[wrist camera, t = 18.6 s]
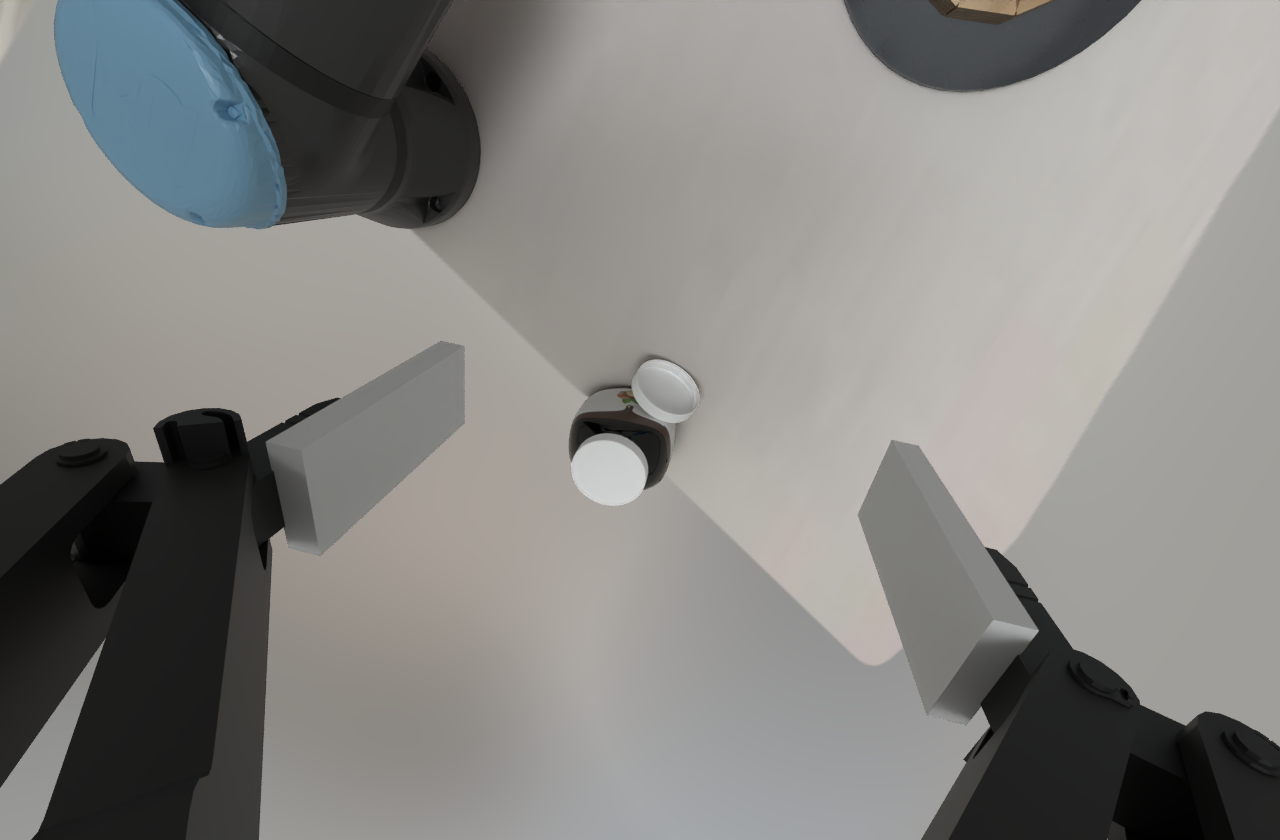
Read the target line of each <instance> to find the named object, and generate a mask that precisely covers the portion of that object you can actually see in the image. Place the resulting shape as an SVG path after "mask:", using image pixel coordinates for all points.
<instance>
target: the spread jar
mask: <svg viewBox="0 0 1280 840" xmlns="http://www.w3.org/2000/svg"><path fill="white" fill-rule="evenodd" d="M699 403H700V393H699V390H698V387H697V385H696V383H695V381H694V380H693V379H692V377H691V376H690V375H689V374H688V373H687V372H686V371H685V370H683V369H682V368H681V367H679V366H677V365H676V364H674V363H671V362H669V361H665V360H660V359H653V360H649V361H646V362H644V363H643V364H642V365H641V366H640V367H639V369H638V370H637V372H636V373H635V375H634V377H633V379H632V387H619V388H611V389H606V390H602V391H599V392H597V393H594V394H593V395H591V396H590V397H589V398H588V399H587V400H586V401H585V402H584V404H583V405H582V406H581V408H580V409H579V411H578V412H577V414H576V416H575V418H574V420H573V423H572V426H571V430H570V437H569V455H570V460H571V474H572V477H573V481H574V482H575V484H576V486H577V487H578V489H579V490H580V491H581V492H582V493H583V494H584V495H585V496H586V497H588V498H589V499H591V500H593V501H595V502H597V503H599V504H604V505H609V506H618V505H623V504H627V503H629V502H631V501H633V500H634V499H636V498H637V497H638V496H639V495H640V493H641V492H642V491H643V490H646V489H648V488H650V487H653V486H655V485H656V484H657V483H659V482H660V481H661V479H662V478H663V476H664V475H665V473H666V471H667V468H668V465H669V462H670V459H671V455H672V451H673V447H674V441H675V423H679V422H683V421H685V420H687V419H688V418H689V417H690V416H691V415H692V413H693V412H694V411H695V410H696V409H697V407H698V405H699Z"/></svg>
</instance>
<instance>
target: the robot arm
mask: <svg viewBox="0 0 1280 840" xmlns="http://www.w3.org/2000/svg"><path fill="white" fill-rule="evenodd" d="M452 1H453V0H58V3H57V6H56V12H55V18H54V39H55V47H56V52H57V57H58V61H59V65H60V69H61V73H62V76H63V79H64V81H65V84H66V87H67V89H68V92H69V94H70V97H71V100H72V102H73V104H74V106H75V107H76V108H77V110H78V111H79V113H80V115H81V116H82V118H83V120H84V123H85V125H86V127H87V129H88V131H89V133H90V134H91V136H92V137H93V139H94V141H95V142H96V144H97V145H98V146H99V148H100V149H101V150H102V152H103V153H104V154H105V156H106V157H107V158H108V160H110V162H111V163H112V164H113V165H114V166H115V168H116V169H117V170H118V171H119V172H120V173H121V174H122V175H123V176H124V178H125V179H126V180H128V181H129V182H130V183H131V184H132V185H133V186H134V187H135V188H136V189H137V190H138V191H140V192H141V193H142V194H143V195H144V196H146V197H147V198H148V199H150V200H151V201H152V202H153V203H155V204H156V205H158V206H160V207H161V208H163V209H164V210H166V211H168V212H169V213H171V214H173V215H175V216H177V217H179V218H182V219H184V220H186V221H189V222H192V223H195V224H198V225H203V226H208V227H215V228H226V227H227V228H229V227H247V228H255V229H265V228H269V227H271V226H274V225H281V224H289V223H296V222H303V221H310V220H317V219H325V218H332V217H340V216H347V215H353V214H357V215H360V216H362V217H365V218H368V219H370V220H373V221H375V222H378V223H381V224H384V225H387V226H391V227H396V228H406V229H409V228H420V227H425V226H431V225H435V224H438V223H440V222H443V221H445V220H447V219H448V218H450V217H451V216H453V215H454V214H455V213H456V212H457V211H458V210H459V209H460V208H461V207H462V206H463V205H464V204H465V202H466V201H467V199H468V198H469V196H470V194H471V192H472V190H473V187H474V185H475V182H476V179H477V175H478V170H479V162H480V141H479V133H478V128H477V123H476V120H475V116H474V113H473V110H472V107H471V105H470V102H469V100H468V98H467V96H466V94H465V92H464V90H463V88H462V87H461V85H460V84H459V82H458V81H457V79H456V78H455V76H454V75H453V74H452V73H451V71H450V70H449V69H448V68H447V67H446V66H445V65H444V64H443V63H442V62H441V61H440V60H439V59H438V58H437V57H436V56H435V55H433V54H432V53H431V52H429V51H428V50H426V47H427V45H428V43H429V42H430V40H431V38H432V36H433V35H434V33H435V31H436V29H437V28H438V26H439V24H440V22H441V21H442V19H443V17H444V15H445V14H446V12H447V10H448V8H449V7H450V5H451V3H452ZM463 424H464V346H461V345H457V344H452V343H448V342H443V341H440V342H438V343H437V344H435V345H433V346H432V347H430V348H428V349H426V350H425V351H423V352H421V353H419V354H418V355H416V356H414V357H412V358H411V359H409V360H407V361H405V362H404V363H402V364H400V365H399V366H397V367H395V368H393V369H391V370H390V371H388V372H386V373H385V374H383V375H381V376H379V377H378V378H376V379H375V380H373V381H371V382H369V383H367V384H365V385H364V386H362V387H360V388H358V389H357V390H355V391H353V392H352V393H350V394H348V395H346V396H344V397H343V398H335V399H331V400H328V401H324V402H321V403H317V404H315V405H313V406H311V407H309V408H308V409H306V410H304V411H302V412H301V413H299V415H295V416H293V417H292V418H289V419H288V420H286V422H285V423H280V424H279V425H277V426H275V427H273V428H271V429H270V430H268V431H266V432H264V433H262V434H261V435H259V436H257V437H255V438H253V439H252V440H250V441H248V442H247V441H246V437H245V432H244V428H243V424H242V420H241V417H240V415H239V414H237V413H235V412H234V411H231V410H226V409H220V408H207V409H206V408H203V409H196V410H189V411H185V412H181V413H178V414H174V415H171V416H169V417H167V418H165V419H164V420H161V421H160V422H158V424H157V425H156V426H155V427H154V428H153V429H154V432H155V435H156V438H157V441H158V444H159V447H160V450H161V453H162V457H163V460H164V463H162V462H134V459H133V456H132V454H131V451H130V448H129V447H128V445H127V443H125V442H122V441H120V440H117V439H104V438H101V439H82V440H78V441H72V442H68V443H65V444H63V445H61V446H58V447H56V448H52V449H49V450H48V451H46V452H44V453H42V454H41V455H39V456H37V457H36V458H34V459H33V460H32V461H30V462H29V463H28V464H26V465H25V466H24V467H23V468H21V469H20V470H19V471H17V472H16V473H15V474H14V475H12V476H11V477H10V478H9V479H7V480H6V481H5V482H3V483H2V484H1V485H0V787H1V786H2V785H3V783H4V782H5V780H6V779H7V778H8V776H9V774H10V773H11V772H12V770H13V769H14V768H15V766H16V765H17V763H18V762H19V760H20V759H21V758H22V756H23V755H24V753H25V752H26V750H27V749H28V748H29V746H30V745H31V743H32V742H33V741H34V739H35V738H36V736H37V735H38V733H39V732H40V731H41V729H42V728H43V726H44V725H45V723H46V722H47V721H48V719H49V718H50V716H51V715H52V713H53V712H54V711H55V709H56V708H57V706H58V705H59V703H60V702H61V700H62V699H63V698H64V696H65V695H66V693H67V692H68V691H69V689H70V688H71V686H72V685H73V683H74V682H75V681H76V679H77V678H78V676H79V675H80V674H81V672H82V671H83V669H84V668H85V667H86V665H87V663H88V662H89V660H90V659H91V658H92V657H93V655H94V654H95V652H96V651H97V649H98V648H99V646H100V645H101V644H102V642H103V641H104V639H105V638H106V640H105V642H104V645H103V648H102V651H101V654H100V657H99V660H98V663H97V666H96V669H95V671H94V674H93V677H92V680H91V683H90V686H89V689H88V692H87V695H86V698H85V701H84V704H83V707H82V709H81V713H80V715H79V718H78V721H77V724H76V727H75V730H74V733H73V736H72V739H71V741H70V744H69V747H68V750H67V754H66V756H65V759H64V762H63V765H62V768H61V771H60V774H59V776H58V779H57V782H56V785H55V788H54V791H53V794H52V797H51V800H50V803H49V806H48V809H47V811H46V814H45V818H44V820H43V822H42V824H41V826H40V829H39V831H38V832H37V834H36V835H35V836H34V837H33V838H32V840H259V823H260V822H259V821H260V802H261V779H262V759H263V738H264V716H265V694H266V672H267V651H268V631H269V610H270V589H271V588H270V587H271V567H272V547H271V543H270V539H269V538H271V537H272V536H273V535H274V534H276V533H277V532H278V531H279V530H281V529H282V528H283V527H284V530H285V534H286V539H287V544H288V548H291V549H294V550H299V551H303V552H306V553H310V554H314V555H318V556H321V555H322V554H323V553H324V552H325V551H326V550H327V549H328V548H330V547H331V546H332V545H333V544H334V543H335V542H336V541H337V540H338V539H339V538H341V537H342V536H343V535H344V534H345V533H346V532H347V531H348V530H349V529H350V528H351V527H352V526H354V525H355V523H357V522H358V521H359V520H360V519H361V518H362V517H363V516H364V515H365V514H367V512H369V511H370V510H371V509H372V508H373V507H374V506H375V505H376V504H377V503H378V502H380V501H381V500H382V499H383V498H384V497H385V496H386V495H387V494H388V493H389V492H390V491H391V490H392V489H393V488H395V487H396V486H397V485H398V484H399V483H400V482H401V481H402V480H403V479H404V478H406V477H407V476H408V475H409V474H410V473H411V472H412V471H413V470H414V469H415V468H416V467H417V466H418V465H420V464H421V463H422V462H423V461H424V460H425V459H426V458H427V457H428V456H429V455H430V454H431V453H433V452H434V451H435V450H436V449H437V448H438V447H439V446H440V445H441V444H442V443H444V442H445V441H446V440H447V439H448V438H449V437H450V436H451V435H452V434H453V433H454V432H455V431H457V430H458V429H459V428H460V427H461V426H462V425H463ZM858 517H859V520H860V523H861V526H862V528H863V531H864V534H865V537H866V540H867V543H868V546H869V549H870V552H871V555H872V557H873V560H874V563H875V566H876V569H877V572H878V575H879V578H880V581H881V583H882V586H883V589H884V592H885V595H886V598H887V601H888V604H889V607H890V610H891V612H892V615H893V618H894V621H895V624H896V627H897V630H898V633H899V636H900V639H901V641H902V644H903V647H904V650H905V653H906V656H907V659H908V662H909V664H910V667H911V670H912V673H913V676H914V679H915V682H916V685H917V688H918V691H919V694H920V697H921V699H922V702H923V705H924V708H925V711H926V714H927V715H928V716H932V717H936V718H940V719H943V720H947V721H951V722H955V723H959V724H963V725H967V724H968V723H969V721H970V720H971V719H972V717H973V716H974V715H975V714H976V712H977V711H978V710H979V708H980V707H981V706H982V709H983V711H984V713H985V715H986V717H987V720H988V722H989V724H990V727H989V728H988V730H987V731H986V732H985V733H984V734H983V736H982V737H981V738H980V740H979V741H978V742H977V743H976V744H975V746H974V747H973V748H972V750H971V751H970V752H969V753H968V754H967V756H966V757H965V758H964V760H965V761H966V762H967V763H966V764H965V766H964V768H963V770H962V771H961V773H960V774H959V776H958V778H957V780H956V781H955V783H954V785H953V786H952V788H951V790H950V791H949V793H948V795H947V797H946V798H945V800H944V802H943V804H942V805H941V807H940V809H939V810H938V812H937V814H936V815H935V817H934V819H933V820H932V822H931V824H930V825H929V827H928V829H927V831H926V832H925V834H924V836H923V837H922V839H921V840H1107V838H1108V840H1280V747H1279V746H1278V745H1276V744H1275V743H1274V742H1273V741H1270V740H1268V739H1269V738H1267V737H1266V736H1264V735H1263V734H1261V733H1260V732H1258V731H1256V730H1253V729H1252V728H1250V727H1248V726H1246V725H1245V724H1243V723H1241V722H1239V721H1237V720H1235V719H1232V718H1230V717H1227V716H1225V715H1222V714H1219V713H1212V712H1204V713H1202V714H1199V715H1198V716H1196V717H1195V718H1194V719H1193V720H1192V721H1191V722H1190V723H1189V724H1188V725H1186V726H1185V725H1183V724H1180V723H1178V722H1176V721H1173V720H1172V719H1169V718H1167V717H1165V716H1163V715H1161V714H1159V713H1156V712H1155V711H1152V710H1150V709H1148V708H1146V707H1144V706H1142V705H1140V701H1139V699H1138V698H1137V696H1136V694H1135V693H1134V692H1133V690H1132V688H1131V687H1130V686H1129V685H1128V684H1127V683H1126V682H1125V681H1124V680H1123V679H1122V678H1121V677H1120V676H1119V675H1118V674H1117V673H1115V672H1114V671H1113V670H1111V669H1110V668H1109V667H1107V666H1106V665H1104V664H1103V663H1102V662H1100V661H1098V660H1096V659H1095V658H1093V657H1091V656H1088V655H1087V654H1085V653H1083V652H1080V651H1077V650H1073V648H1072V647H1071V645H1070V644H1069V643H1068V641H1067V640H1066V638H1065V637H1064V635H1063V634H1062V633H1061V631H1060V630H1059V628H1058V627H1057V625H1056V624H1055V623H1054V621H1053V620H1052V618H1051V617H1050V615H1049V614H1048V613H1047V611H1046V610H1045V608H1044V607H1043V605H1042V604H1041V603H1038V598H1037V597H1036V595H1035V594H1034V592H1033V591H1032V589H1031V588H1028V584H1027V582H1026V581H1025V579H1024V578H1023V577H1022V576H1021V574H1020V572H1019V571H1018V569H1017V568H1016V567H1015V566H1014V565H1013V564H1012V563H1011V562H1009V561H1008V560H1007V559H1006V558H1005V557H1004V556H1003V555H1002V554H1000V553H999V552H998V551H997V550H995V549H990V548H986V547H984V545H983V544H982V542H981V541H980V539H979V538H978V536H977V535H976V533H975V532H974V530H973V529H972V527H971V525H970V524H969V522H968V521H967V519H966V518H965V516H964V515H963V513H962V512H961V510H960V509H959V507H958V506H957V504H956V502H955V501H954V499H953V498H952V496H951V495H950V493H949V492H948V490H947V489H946V487H945V486H944V484H943V483H942V481H941V479H940V478H939V476H938V475H937V473H936V472H935V470H934V469H933V467H932V466H931V464H930V463H929V461H928V460H927V458H926V456H925V455H924V453H923V452H922V450H921V449H920V447H919V446H917V445H912V444H908V443H903V442H899V441H894V440H891V443H890V445H889V447H888V449H887V451H886V454H885V456H884V458H883V460H882V462H881V465H880V467H879V469H878V471H877V474H876V476H875V478H874V480H873V482H872V485H871V487H870V489H869V491H868V493H867V496H866V498H865V500H864V502H863V504H862V507H861V509H860V511H859V513H858Z"/></svg>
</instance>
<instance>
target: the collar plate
mask: <svg viewBox="0 0 1280 840" xmlns="http://www.w3.org/2000/svg"><path fill="white" fill-rule="evenodd" d="M1140 1H1141V0H844V2H845V5H846V7H847V10H848V13H849V15H850V18H851V20H852V22H853V24H854V26H855V28H856V30H857V31H858V33H859V35H860V37H861V38H862V40H863V41H864V42H865V44H866V45H867V46H868V48H869V49H870V50H871V51H872V53H873V54H874V55H875V56H876V57H877V58H878V59H879V60H880V61H881V62H883V63H884V64H885V65H886V66H887V67H888V68H889V69H891V70H893V71H894V72H896V73H897V74H899V75H900V76H902V77H903V78H905V79H908V80H910V81H912V82H915V83H917V84H919V85H922V86H925V87H930V88H934V89H938V90H944V91H956V92H968V91H983V90H988V89H993V88H998V87H1003V86H1007V85H1010V84H1013V83H1016V82H1019V81H1022V80H1025V79H1028V78H1031V77H1034V76H1036V75H1039V74H1041V73H1043V72H1045V71H1047V70H1049V69H1052V68H1054V67H1056V66H1058V65H1060V64H1061V63H1063V62H1065V61H1066V60H1068V59H1070V58H1072V57H1073V56H1075V55H1077V54H1078V53H1080V52H1082V51H1083V50H1084V49H1086V48H1087V47H1088V46H1090V45H1091V44H1093V43H1094V42H1095V41H1097V40H1098V39H1099V38H1101V37H1102V36H1104V35H1105V34H1106V33H1107V32H1108V31H1109V30H1111V29H1112V28H1113V27H1114V26H1115V25H1116V24H1117V23H1119V22H1120V21H1121V20H1122V19H1123V18H1124V17H1125V16H1127V15H1128V13H1129V12H1130V11H1131V10H1132V9H1133V8H1134V7H1135V6H1136V5H1137V4H1138V3H1139V2H1140Z"/></svg>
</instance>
